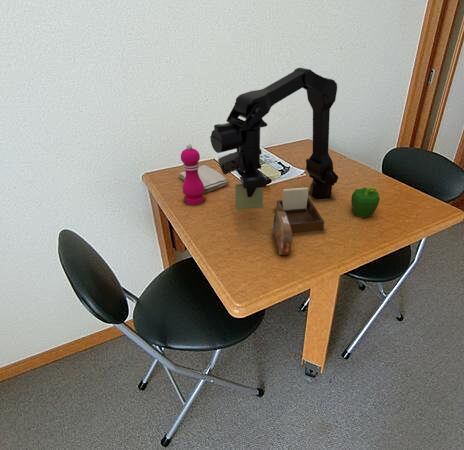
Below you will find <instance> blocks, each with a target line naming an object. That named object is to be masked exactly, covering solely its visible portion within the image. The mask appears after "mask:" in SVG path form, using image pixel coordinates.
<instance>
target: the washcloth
mask: <svg viewBox="0 0 464 450" xmlns="http://www.w3.org/2000/svg"><path fill="white" fill-rule="evenodd" d="M198 175H199V177H200V179H201V181H202V183H203V185H204V192H203V193H202V194H203V195H204V194H207V193H209V192H212V191H215V190H219V189H221V188H223V187H226V186H228V184H229V183H228V181H227V178H226V177H225V176H224V175H223V174H221V172H218V171H217V170H215V169H214V168H212V167H210V166H208V165H199V168H198ZM185 176H186V172H185V171H182V172H179V174H178V177H179V178H180V179H182V181H183V182H184V181H185Z"/></svg>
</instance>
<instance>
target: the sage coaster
mask: <svg viewBox="0 0 464 450" xmlns="http://www.w3.org/2000/svg"><path fill="white" fill-rule="evenodd" d="M234 187H235V190H234V191H235V210H236V211H241V210H251V209H252V210H253V209H263V204H264V203H263V202H264V187H261V188H256V190H255V192H254V193H253V195H252V197H248V195H247V190H246V189H245V188H243V185H242V183H239V184H234Z"/></svg>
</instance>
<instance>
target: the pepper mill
mask: <svg viewBox="0 0 464 450" xmlns="http://www.w3.org/2000/svg"><path fill="white" fill-rule="evenodd" d="M180 160H181V162H182V167H183V170H184V172H186V176H185V181H184V180H183V184H182V193H183V194H184V202H185V203H186V204H188V205H191V206H196V205H200V204H202V203H203V202H204V200H205V199H204V194H202V193H203V192H204V185H203V183H202V181H201V179H200V177H199V175H198V168H199V167H200V163H199V161H200V160H201V156H200V152H199V151H198V150H197V149H195V148H193V145H192V144H191V143H187V144H186V148H185V149H183V150H182V151H181V153H180Z"/></svg>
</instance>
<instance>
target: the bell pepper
mask: <svg viewBox="0 0 464 450" xmlns="http://www.w3.org/2000/svg"><path fill="white" fill-rule="evenodd" d="M377 190H378V188H377V187H375V186H370V187H368V188H367V187H361V188H355V189H354V191H353V192H352V193H351V199H350V200H351V209H352V212H353V214H354V216H356V217H358V218H362V219H364V218H368V217H369V218H370V217H372V216H373V215H374V214H375V212H376V210H377V208H378V207H379V203H380V199H381V198H380V194H379V191H377Z"/></svg>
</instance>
